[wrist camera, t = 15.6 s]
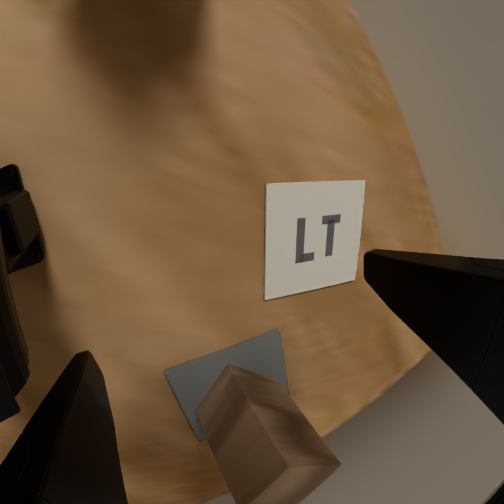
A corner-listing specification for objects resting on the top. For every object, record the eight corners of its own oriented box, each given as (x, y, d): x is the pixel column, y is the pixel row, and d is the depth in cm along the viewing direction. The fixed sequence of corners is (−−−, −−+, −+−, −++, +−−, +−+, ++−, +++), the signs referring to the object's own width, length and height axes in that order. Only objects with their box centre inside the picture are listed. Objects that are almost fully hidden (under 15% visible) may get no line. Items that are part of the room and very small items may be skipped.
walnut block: (195, 409, 26) (240, 511, 17) (227, 363, 26) (288, 467, 16) (244, 418, 29) (295, 505, 19) (276, 377, 28) (341, 464, 19)
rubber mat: (197, 436, 28) (199, 441, 28) (164, 370, 24) (165, 374, 24) (287, 400, 31) (290, 404, 31) (276, 328, 27) (280, 332, 27)
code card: (263, 299, 26) (264, 300, 25) (265, 183, 22) (266, 184, 22) (353, 279, 29) (355, 280, 29) (363, 180, 26) (365, 180, 25)
